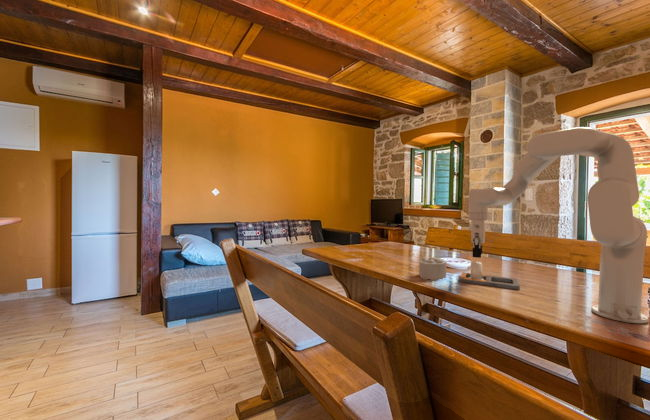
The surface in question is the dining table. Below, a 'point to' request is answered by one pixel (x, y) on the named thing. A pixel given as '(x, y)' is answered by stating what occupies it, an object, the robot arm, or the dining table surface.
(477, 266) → the flanged peg
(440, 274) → the lumpy-topped squat cylinder
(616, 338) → the dining table surface
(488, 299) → the dining table surface
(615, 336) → the dining table surface
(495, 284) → the grey slotted board
